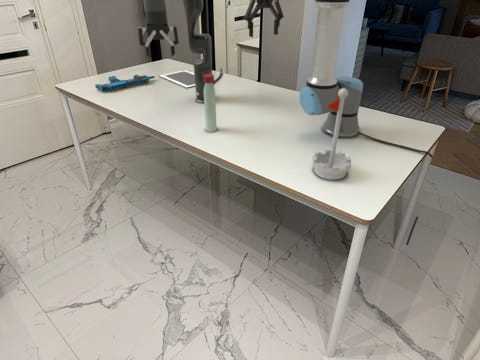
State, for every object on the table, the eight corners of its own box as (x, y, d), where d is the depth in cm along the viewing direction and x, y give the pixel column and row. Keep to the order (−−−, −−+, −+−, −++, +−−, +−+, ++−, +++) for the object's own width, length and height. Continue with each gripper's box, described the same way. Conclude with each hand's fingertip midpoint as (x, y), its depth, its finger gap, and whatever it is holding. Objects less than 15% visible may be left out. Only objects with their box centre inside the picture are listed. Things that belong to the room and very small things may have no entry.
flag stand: (334, 159, 128) (348, 80, 112) (356, 176, 118) (375, 92, 101) (304, 166, 124) (314, 84, 108) (324, 184, 114) (338, 97, 97)
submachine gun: (140, 69, 223) (158, 75, 206) (141, 75, 225) (159, 81, 208) (87, 79, 204) (103, 87, 188) (89, 85, 206) (105, 94, 190)
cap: (216, 82, 139) (215, 75, 138) (207, 84, 137) (206, 77, 135) (210, 79, 142) (210, 73, 140) (201, 81, 140) (201, 75, 138)
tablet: (159, 76, 220) (159, 75, 220) (185, 70, 231) (185, 69, 231) (186, 88, 199) (186, 87, 199) (214, 81, 210) (214, 80, 210)
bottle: (218, 130, 151) (216, 76, 138) (209, 132, 148) (206, 78, 135) (213, 126, 154) (210, 74, 141) (204, 129, 152) (200, 76, 139)
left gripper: (175, 7, 125) (179, 53, 134) (135, 8, 123) (142, 54, 132) (175, 10, 119) (180, 57, 128) (133, 11, 117) (141, 59, 126)
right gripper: (284, -17, 160) (281, 32, 172) (236, -15, 151) (237, 36, 163) (293, -16, 155) (289, 34, 166) (244, -14, 146) (243, 38, 157)
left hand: (161, 56), depth 130 cm, fingers open, 8 cm apart
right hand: (263, 35), depth 165 cm, fingers open, 13 cm apart
